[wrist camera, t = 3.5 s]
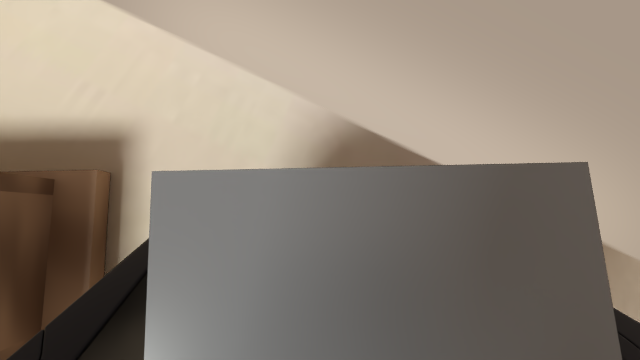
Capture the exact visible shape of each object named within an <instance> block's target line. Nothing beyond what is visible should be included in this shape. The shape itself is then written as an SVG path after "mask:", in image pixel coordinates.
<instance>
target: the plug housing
mask: <svg viewBox="0 0 640 360" xmlns="http://www.w3.org/2000/svg"><path fill="white" fill-rule="evenodd" d="M144 360H622V356H621V350H620V344H619V339H618V333H617V327H616V321H615V316H614V310H613V304H612V299H611V293H610V287H609V281H608V276H607V270H606V264H605V258H604V253H603V247H602V241H601V236H600V230H599V224H598V219H597V213H596V207H595V201H594V195H593V190H592V185H591V178H590V173H589V167H588V162H572V163H527V164H482V165H481V164H477V165H429V166H382V167H334V168H287V169H240V170H192V171H152V182H151V206H150V229H149V253H148V277H147V301H146V324H145V348H144Z"/></svg>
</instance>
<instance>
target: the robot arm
mask: <svg viewBox="0 0 640 360" xmlns="http://www.w3.org/2000/svg"><path fill="white" fill-rule="evenodd" d="M148 253H149V238H148V239H147V240H146V241H145V242H144V243H143V244H141V245H140V246H139V247H138V248H137V249H136V250H134V251H133V252H132V253H131V254H130V255H129V256H127V257H126V258H125V259H124V260H123V261H121V262H120V263H119V264H118V265H117V266H116V267H114V268H113V269H112V270H111V271H110V272H109V273H107V274H106V275H105V276H104V277H103V278H102V279H100V280H99V281H98V282H97V283H96V284H95V285H93V286H92V287H91V288H90V289H89V290H88V291H86V292H85V293H84V294H83V295H82V296H80V297H79V298H78V299H77V300H76V301H75V302H73V303H72V304H71V305H70V306H69V307H68V308H66V309H65V310H64V311H63V312H62V313H61V314H59V315H58V316H57V317H56V318H55V319H54V320H52V321H51V322H50V323H49V324H48V325H47V326H46V327H45V329H43V330H41V331H39V332H38V333H37V334H36V335H35V336H33V337H32V338H31V339H30V340H29V341H28V342H26V343H25V344H24V345H23V346H22V347H20V348H19V349H18V350H17V351H16V352H14V353H13V354H12V355H11V356H10V357H8V358H7V359H6V360H144V348H145V324H146V301H147V277H148ZM613 310H614V316H615V321H616V327H617V333H618V339H619V344H620V350H621V356H622V360H640V323H639V322H637V321H635V320H634V319H632V318H630V317H628V316H627V315H625V314H623V313H622V312H620V311H618V310H616V309H615V308H613Z"/></svg>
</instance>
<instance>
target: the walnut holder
mask: <svg viewBox="0 0 640 360" xmlns="http://www.w3.org/2000/svg"><path fill="white" fill-rule="evenodd" d="M109 186H110V173H108V172H104V171H99V170H69V171H19V172H0V360H6V359H7V358H8V357H10V356H11V355H12V354H13V353H14V352H16V351H17V350H18V349H19V348H20V347H22V346H23V345H24V344H25V343H26V342H28V341H29V340H30V339H31V338H32V337H33V336H35V335H36V334H37V333H38V332H39V331H41V330H43V329H45V327H46V326H47V325H48V324H49V323H50V322H51V321H52V320H54V319H55V318H56V317H57V316H58V315H59V314H61V313H62V312H63V311H64V310H65V309H66V308H68V307H69V306H70V305H71V304H72V303H73V302H75V301H76V300H77V299H78V298H79V297H80V296H82V295H83V294H84V293H85V292H86V291H88V290H89V289H90V288H91V287H92V286H93V285H95V284H96V283H97V282H98V281H99V280H100V279H102V278H103V277H104V266H105V250H106V234H107V218H108V202H109Z"/></svg>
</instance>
